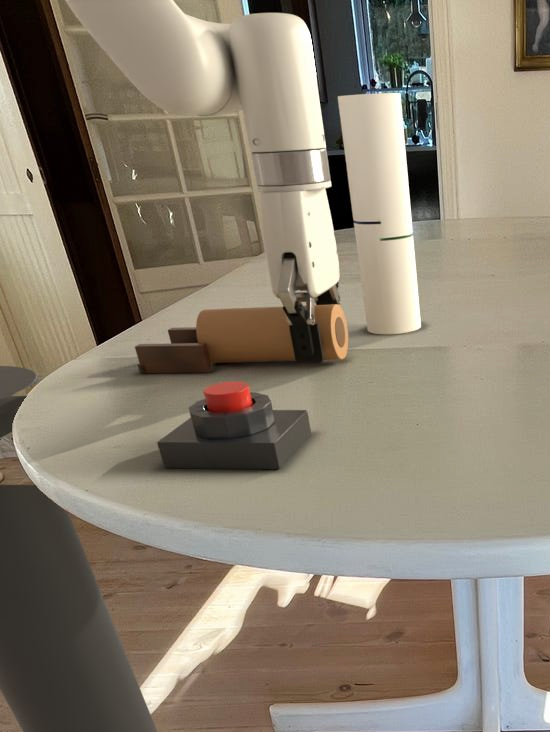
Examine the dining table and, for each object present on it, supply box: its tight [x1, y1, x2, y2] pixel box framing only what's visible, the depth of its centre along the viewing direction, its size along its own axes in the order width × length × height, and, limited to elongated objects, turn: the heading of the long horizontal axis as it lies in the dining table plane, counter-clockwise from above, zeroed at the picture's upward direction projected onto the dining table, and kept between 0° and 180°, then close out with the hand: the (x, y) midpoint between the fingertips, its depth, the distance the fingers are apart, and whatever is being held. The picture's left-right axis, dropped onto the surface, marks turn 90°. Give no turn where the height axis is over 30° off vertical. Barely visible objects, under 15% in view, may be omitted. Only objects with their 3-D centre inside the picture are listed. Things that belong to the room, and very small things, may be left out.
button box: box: [156, 391, 312, 470], centre depth 62 cm, size 10×8×4 cm
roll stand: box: [134, 326, 214, 374], centre depth 87 cm, size 8×9×3 cm
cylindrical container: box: [337, 92, 422, 335], centre depth 91 cm, size 7×7×25 cm
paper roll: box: [195, 304, 349, 364], centre depth 85 cm, size 6×6×16 cm
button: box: [202, 381, 253, 413], centre depth 61 cm, size 4×4×2 cm
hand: (321, 351), depth 85 cm, fingers open, 7 cm apart
